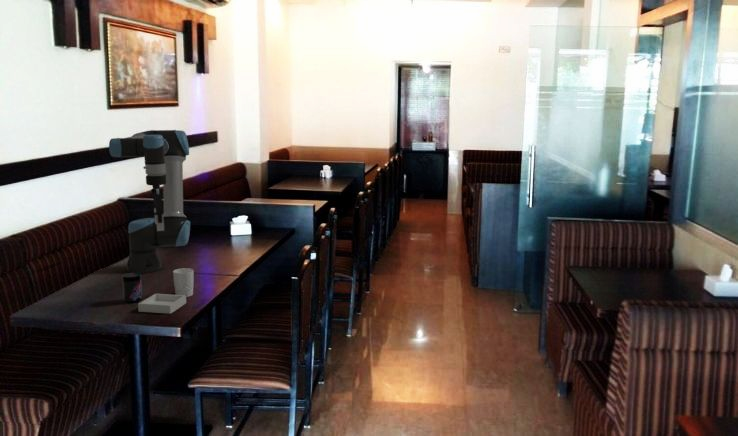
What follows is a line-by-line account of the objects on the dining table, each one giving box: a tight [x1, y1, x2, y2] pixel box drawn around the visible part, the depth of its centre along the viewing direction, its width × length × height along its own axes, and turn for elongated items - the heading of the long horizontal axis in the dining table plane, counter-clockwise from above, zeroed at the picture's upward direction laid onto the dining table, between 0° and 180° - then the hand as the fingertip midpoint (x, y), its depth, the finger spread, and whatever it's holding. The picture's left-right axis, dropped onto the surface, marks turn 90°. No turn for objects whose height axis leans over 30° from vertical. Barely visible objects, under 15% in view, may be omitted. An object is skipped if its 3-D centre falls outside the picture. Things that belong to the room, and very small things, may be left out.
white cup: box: [172, 267, 195, 298], centre depth 247 cm, size 8×8×10 cm
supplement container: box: [121, 272, 143, 304], centre depth 239 cm, size 7×7×10 cm
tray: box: [137, 293, 187, 314], centre depth 233 cm, size 13×13×3 cm
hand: (159, 227), depth 248 cm, fingers open, 13 cm apart
